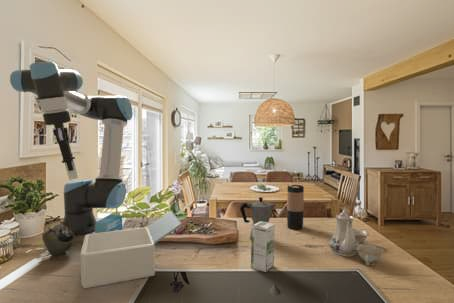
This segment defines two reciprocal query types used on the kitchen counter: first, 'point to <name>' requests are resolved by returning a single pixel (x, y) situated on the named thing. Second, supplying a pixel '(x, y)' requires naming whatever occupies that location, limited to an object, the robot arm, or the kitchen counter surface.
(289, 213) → the travel mug
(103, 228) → the data package
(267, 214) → the coffeepot
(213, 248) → the kitchen counter surface
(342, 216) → the chinaware
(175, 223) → the carton flap
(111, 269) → the carton
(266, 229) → the syrup box
